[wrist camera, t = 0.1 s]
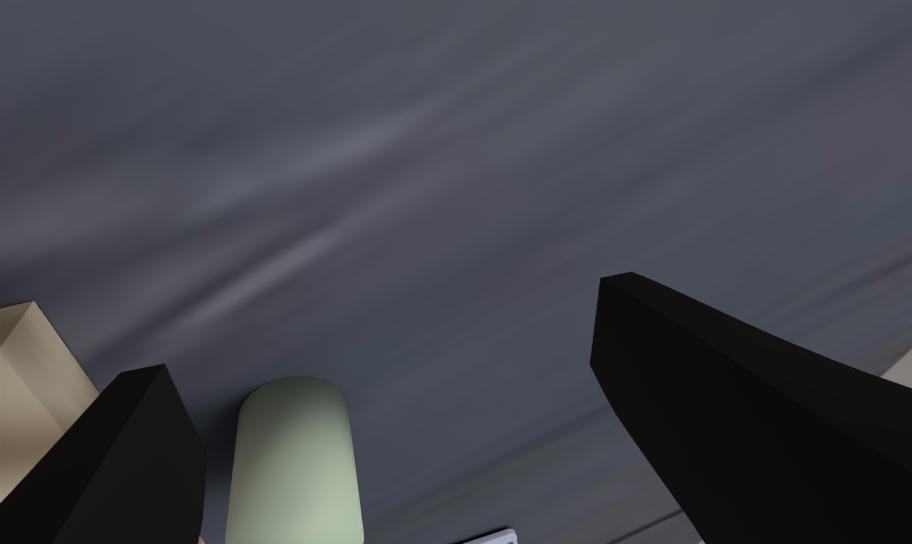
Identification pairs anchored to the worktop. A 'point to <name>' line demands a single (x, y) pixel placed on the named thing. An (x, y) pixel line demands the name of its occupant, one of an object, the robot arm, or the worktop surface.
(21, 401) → the hole plate
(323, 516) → the green peg
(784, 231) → the worktop surface
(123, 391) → the robot arm
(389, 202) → the worktop surface
